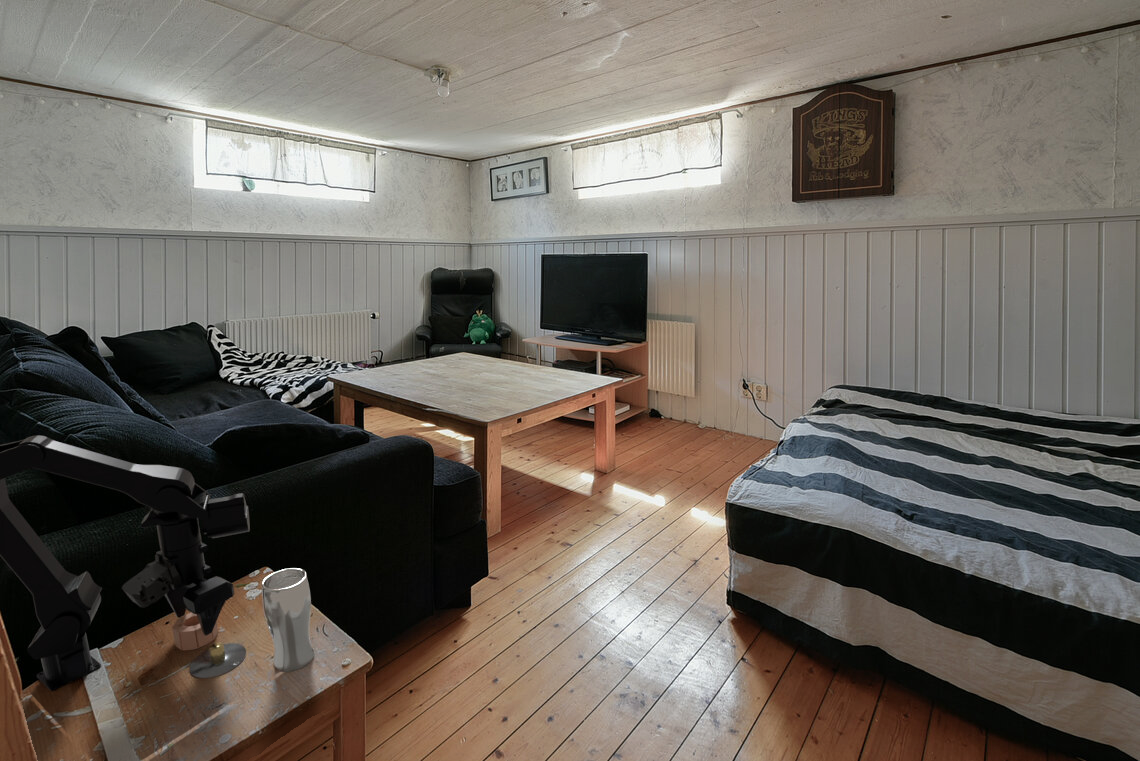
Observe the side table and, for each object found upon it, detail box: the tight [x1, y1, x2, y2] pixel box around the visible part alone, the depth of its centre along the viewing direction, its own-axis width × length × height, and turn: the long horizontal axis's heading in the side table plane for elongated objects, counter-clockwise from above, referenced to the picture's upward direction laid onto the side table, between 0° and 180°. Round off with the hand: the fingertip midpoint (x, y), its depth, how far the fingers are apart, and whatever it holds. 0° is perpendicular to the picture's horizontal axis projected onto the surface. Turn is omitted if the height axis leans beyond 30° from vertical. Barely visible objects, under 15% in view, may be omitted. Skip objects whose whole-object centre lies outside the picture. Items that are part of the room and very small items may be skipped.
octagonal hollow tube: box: [171, 612, 219, 651], centre depth 100 cm, size 6×6×4 cm
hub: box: [189, 642, 247, 679], centre depth 94 cm, size 8×8×3 cm
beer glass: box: [261, 567, 315, 673], centre depth 94 cm, size 7×7×15 cm
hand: (194, 625), depth 100 cm, fingers open, 9 cm apart
